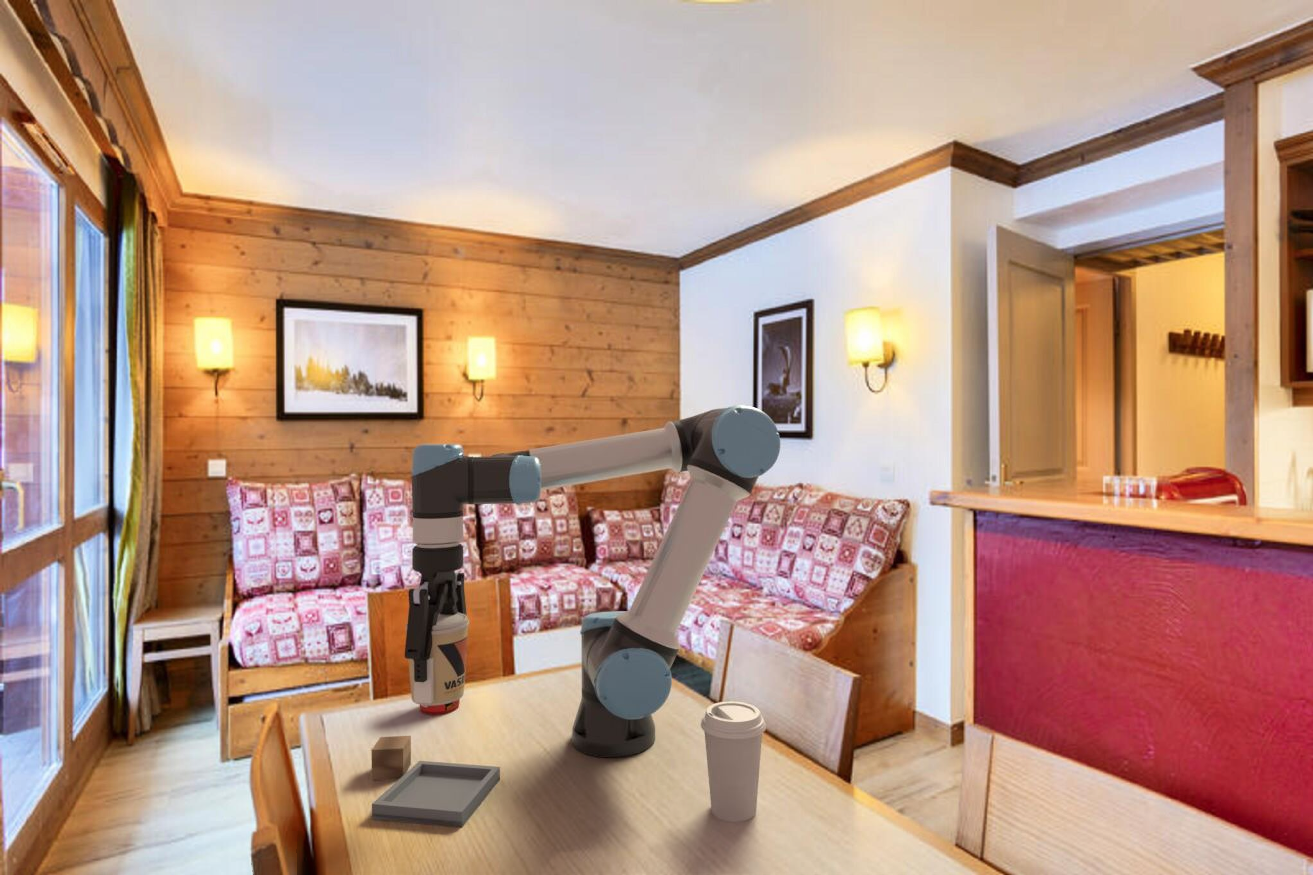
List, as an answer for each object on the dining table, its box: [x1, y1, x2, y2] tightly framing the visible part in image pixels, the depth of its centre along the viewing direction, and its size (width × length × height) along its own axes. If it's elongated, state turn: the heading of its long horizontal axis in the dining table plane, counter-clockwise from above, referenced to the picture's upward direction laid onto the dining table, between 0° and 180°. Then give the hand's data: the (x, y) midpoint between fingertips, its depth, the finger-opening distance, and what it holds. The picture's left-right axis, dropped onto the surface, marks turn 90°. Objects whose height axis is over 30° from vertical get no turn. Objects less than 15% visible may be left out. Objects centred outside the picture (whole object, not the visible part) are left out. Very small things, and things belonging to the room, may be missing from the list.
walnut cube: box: [371, 735, 412, 781], centre depth 118 cm, size 5×5×5 cm
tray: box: [371, 760, 501, 828], centre depth 109 cm, size 14×14×2 cm
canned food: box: [419, 698, 461, 716], centre depth 145 cm, size 8×8×11 cm
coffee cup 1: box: [404, 612, 470, 706], centre depth 109 cm, size 9×9×12 cm
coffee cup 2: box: [700, 700, 767, 823], centre depth 104 cm, size 10×10×15 cm
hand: (438, 690), depth 109 cm, fingers closed on coffee cup 1, 9 cm apart
